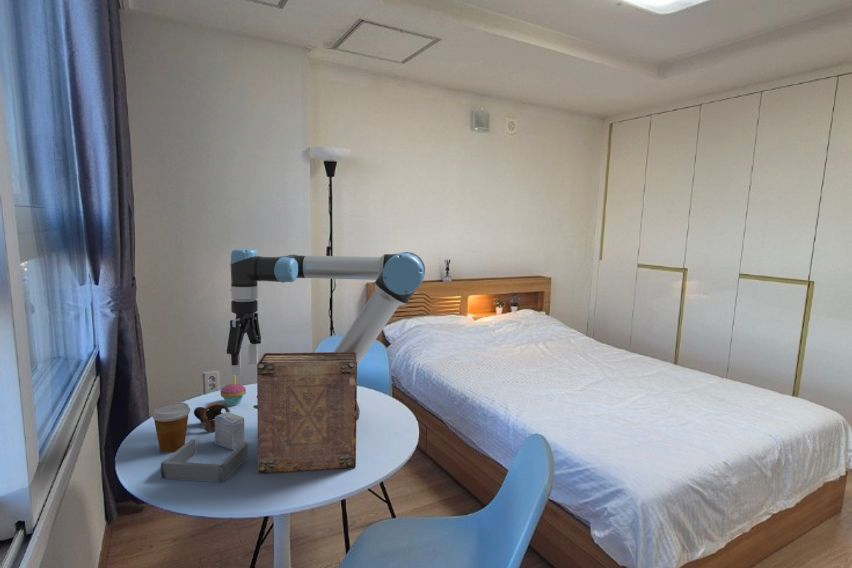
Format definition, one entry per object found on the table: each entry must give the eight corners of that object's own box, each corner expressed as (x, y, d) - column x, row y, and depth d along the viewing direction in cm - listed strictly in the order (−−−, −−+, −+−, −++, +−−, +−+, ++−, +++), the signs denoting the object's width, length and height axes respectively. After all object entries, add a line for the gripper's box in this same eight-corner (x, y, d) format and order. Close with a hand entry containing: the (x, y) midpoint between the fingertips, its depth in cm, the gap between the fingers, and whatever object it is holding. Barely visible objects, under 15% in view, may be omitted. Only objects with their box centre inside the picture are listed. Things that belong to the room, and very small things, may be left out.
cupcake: (225, 399, 164) (224, 368, 163) (249, 399, 165) (248, 368, 164) (217, 408, 156) (216, 375, 154) (242, 408, 157) (241, 375, 155)
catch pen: (247, 456, 124) (247, 442, 123) (223, 482, 110) (223, 467, 110) (191, 452, 124) (191, 439, 124) (161, 478, 111) (160, 463, 111)
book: (354, 451, 128) (357, 351, 125) (355, 468, 119) (358, 361, 116) (263, 456, 124) (263, 352, 120) (257, 474, 115) (257, 362, 111)
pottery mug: (235, 420, 148) (236, 404, 144) (221, 443, 140) (222, 427, 136) (199, 410, 147) (200, 394, 143) (184, 433, 139) (183, 417, 135)
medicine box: (245, 445, 130) (245, 417, 129) (232, 451, 126) (232, 422, 125) (227, 438, 134) (227, 411, 133) (214, 444, 130) (214, 416, 129)
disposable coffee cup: (150, 458, 120) (148, 416, 119) (155, 443, 129) (154, 403, 128) (189, 452, 124) (188, 412, 123) (192, 438, 133) (191, 400, 132)
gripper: (249, 294, 147) (250, 358, 149) (212, 304, 124) (213, 380, 126) (271, 295, 147) (271, 359, 149) (238, 306, 124) (239, 381, 126)
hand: (245, 369), depth 138 cm, fingers open, 11 cm apart
